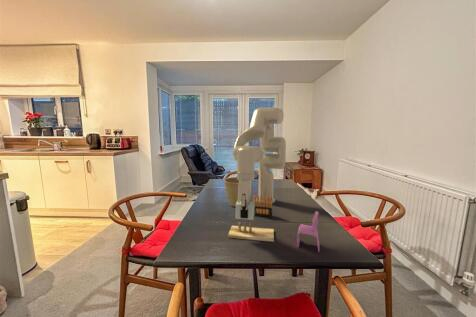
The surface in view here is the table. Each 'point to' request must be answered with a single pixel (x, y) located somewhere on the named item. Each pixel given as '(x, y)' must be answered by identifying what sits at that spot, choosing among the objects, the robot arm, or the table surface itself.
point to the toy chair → (309, 229)
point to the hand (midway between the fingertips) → (244, 215)
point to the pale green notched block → (250, 208)
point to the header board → (251, 233)
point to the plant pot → (232, 190)
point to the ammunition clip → (263, 206)
